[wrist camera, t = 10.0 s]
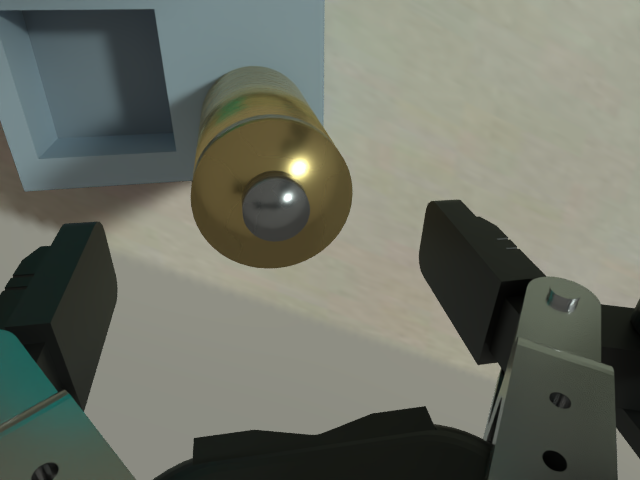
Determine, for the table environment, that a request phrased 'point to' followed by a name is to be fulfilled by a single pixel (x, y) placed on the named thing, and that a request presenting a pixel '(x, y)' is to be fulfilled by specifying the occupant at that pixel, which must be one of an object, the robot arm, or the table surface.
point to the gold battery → (266, 172)
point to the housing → (136, 80)
